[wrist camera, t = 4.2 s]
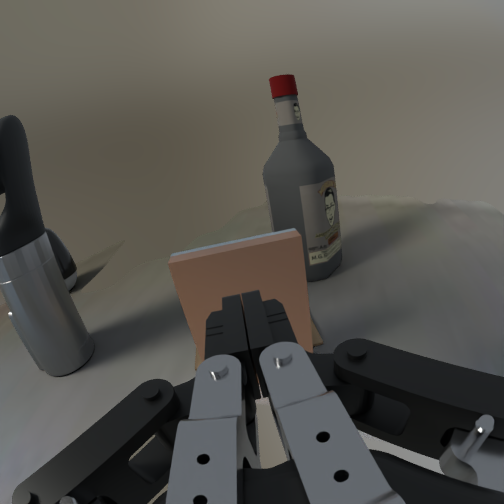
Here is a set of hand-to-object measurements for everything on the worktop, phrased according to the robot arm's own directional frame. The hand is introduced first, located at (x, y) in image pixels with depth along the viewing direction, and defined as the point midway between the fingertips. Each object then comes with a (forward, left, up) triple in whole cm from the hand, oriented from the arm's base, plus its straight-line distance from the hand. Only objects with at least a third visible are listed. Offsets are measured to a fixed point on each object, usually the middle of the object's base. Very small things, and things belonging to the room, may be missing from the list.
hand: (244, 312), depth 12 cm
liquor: (+11, +32, -15) cm, 37 cm away
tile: (0, +11, -15) cm, 19 cm away
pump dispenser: (-42, +45, -15) cm, 63 cm away
